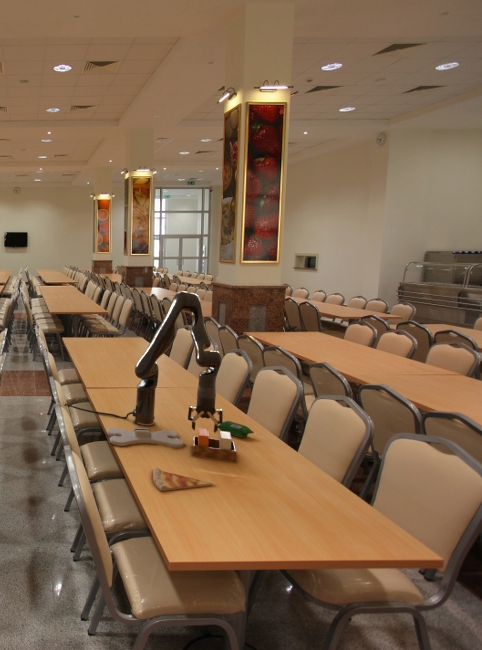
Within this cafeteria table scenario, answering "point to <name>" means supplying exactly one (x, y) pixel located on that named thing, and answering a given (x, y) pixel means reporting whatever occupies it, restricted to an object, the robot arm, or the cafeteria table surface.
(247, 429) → the snack package
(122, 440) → the holder
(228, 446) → the block
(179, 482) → the pizza slice
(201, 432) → the block
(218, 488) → the cafeteria table surface
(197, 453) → the brown wooden tray
